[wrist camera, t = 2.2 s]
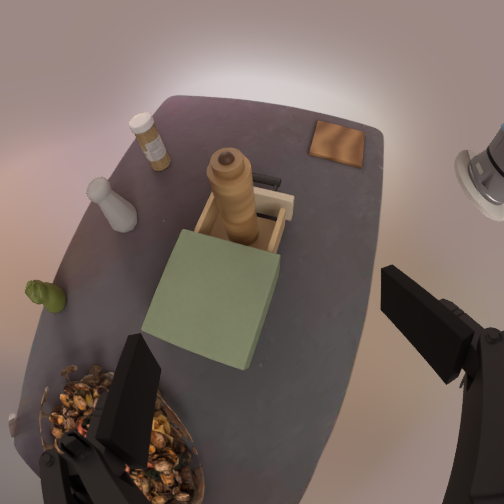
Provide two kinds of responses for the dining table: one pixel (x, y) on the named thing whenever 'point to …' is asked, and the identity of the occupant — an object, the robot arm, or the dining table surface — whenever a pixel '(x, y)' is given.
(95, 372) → the food dish
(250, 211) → the pepper mill
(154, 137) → the spice jar
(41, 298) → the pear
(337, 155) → the square wooden board
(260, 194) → the drawer
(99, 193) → the salt shaker
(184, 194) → the dining table surface
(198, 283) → the cabinet
